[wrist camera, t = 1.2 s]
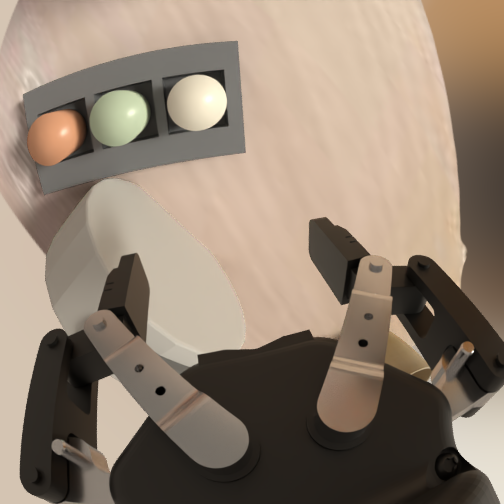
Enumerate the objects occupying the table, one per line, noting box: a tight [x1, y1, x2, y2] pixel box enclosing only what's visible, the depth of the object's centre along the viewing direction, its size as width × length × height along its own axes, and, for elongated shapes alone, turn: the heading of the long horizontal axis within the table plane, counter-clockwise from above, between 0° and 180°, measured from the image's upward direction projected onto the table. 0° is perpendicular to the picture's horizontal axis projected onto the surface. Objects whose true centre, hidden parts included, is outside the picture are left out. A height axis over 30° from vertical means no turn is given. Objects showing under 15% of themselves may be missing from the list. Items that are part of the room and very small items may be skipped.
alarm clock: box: [45, 178, 246, 382], centre depth 26 cm, size 21×8×20 cm, turn 38°
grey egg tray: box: [23, 41, 246, 195], centre depth 25 cm, size 12×23×3 cm, turn 94°
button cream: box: [167, 75, 227, 131], centre depth 23 cm, size 5×5×4 cm
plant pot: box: [385, 331, 432, 381], centre depth 50 cm, size 15×15×16 cm
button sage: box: [90, 90, 151, 147], centre depth 22 cm, size 5×5×4 cm
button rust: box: [27, 109, 87, 166], centre depth 21 cm, size 5×5×4 cm
